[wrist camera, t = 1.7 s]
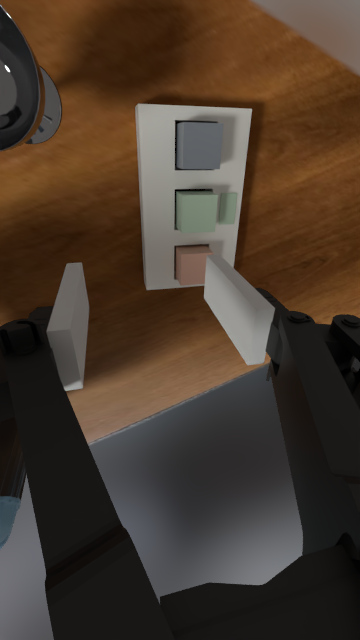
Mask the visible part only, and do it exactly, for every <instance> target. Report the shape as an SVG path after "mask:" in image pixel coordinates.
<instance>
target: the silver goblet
mask: <svg viewBox="0 0 360 640" xmlns="http://www.w3.org/2000/svg"><path fill="white" fill-rule="evenodd" d="M61 115H62V107H61V101H60V97H59V94H58V91H57V89H56V87H55V84H54V83H53V81H52V80H51V78H50V77H49V75H48V74H47V73H46V72H45V71H44V70H43V69H42V68H41V67H40V66H39V63H38V61H37V59H36V56H35V54H34V52H33V50H32V48H31V46H30V44H29V43H28V41H27V39H26V38H25V36H24V35H23V33H22V32H21V30H20V28H19V27H18V26H17V24H16V23H15V22H14V20H13V19H12V18H11V17H10V16H9V14H8V13H7V12H6V11H5V9H4V8H3V7H2V6H1V5H0V152H2V151H7V150H11V149H14V148H16V147H18V146H21V145H22V144H24V143H26V144H38V143H42V142H44V141H47V140H48V139H50V138H51V137H52V136H53V135H54V134H55V133H56V131H57V129H58V127H59V124H60V121H61Z"/></svg>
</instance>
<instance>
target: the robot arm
mask: <svg viewBox="0 0 360 640" xmlns="http://www.w3.org/2000/svg"><path fill="white" fill-rule="evenodd" d="M204 299H205V300H206V302H207V303H208V305H209V307H210V308H211V310H212V311H213V313H214V314H215V316H216V317H217V319H218V320H219V322H220V323H221V325H222V327H223V328H224V330H225V331H226V333H227V334H228V336H229V337H230V339H231V340H232V342H233V344H234V345H235V347H236V348H237V350H238V351H239V353H240V354H241V356H242V357H243V359H244V361H245V362H246V364H247V365H253V364H260V363H264V359H265V354H266V352H267V353H268V355H269V356H270V357H271V360H270V365H269V369H268V373H267V379H266V380H267V381H269V378H270V377H271V378H272V383H273V388H274V393H275V397H276V402H277V407H278V412H279V416H280V422H281V427H282V432H283V436H284V441H285V446H286V451H287V456H288V461H289V465H290V470H291V475H292V480H293V485H294V490H295V495H296V500H297V505H298V510H299V515H300V519H301V525H302V530H303V552H302V556H301V557H299V558H298V559H297V560H296V561H294V562H293V563H292V564H290V565H289V566H288V567H287V568H285V569H284V570H283V571H281V572H280V573H279V574H277V575H276V576H275V577H273V578H272V579H271V580H270V581H268V582H267V583H266V584H263V585H241V584H225V583H206V584H203V585H199V586H196V587H192V588H189V589H185V590H182V591H178V592H175V593H171V594H168V595H165V596H161V597H160V604H159V602H158V599H157V597H156V595H155V592H154V590H153V588H152V586H151V583H150V581H149V578H148V576H147V574H146V571H145V569H144V567H143V564H142V562H141V560H140V557H139V556H138V553H137V551H136V548H135V546H134V544H133V542H132V539H131V537H130V535H129V533H128V532H127V530H126V529H125V528H124V527H123V526H122V524H121V522H120V520H119V518H118V515H117V513H116V510H115V508H114V506H113V503H112V501H111V499H110V496H109V494H108V492H107V489H106V487H105V484H104V482H103V480H102V477H101V475H100V472H99V470H98V468H97V465H96V463H95V461H94V458H93V456H92V453H91V451H90V449H89V446H88V444H87V442H86V439H85V437H84V434H83V432H82V430H81V427H80V425H79V422H78V420H77V418H76V415H75V413H74V411H73V408H72V406H71V403H70V401H69V399H68V396H67V394H66V392H65V391H68V390H75V389H82V388H83V381H84V368H85V356H86V344H87V331H88V319H89V302H88V296H87V290H86V284H85V278H84V272H83V266H82V263H67V264H66V268H65V271H64V274H63V278H62V281H61V284H60V288H59V291H58V294H57V298H56V301H55V304H54V306H48V307H38V308H36V309H35V310H34V311H33V312H32V313H30V315H29V318H28V319H20V320H14V321H11V322H8V323H6V324H4V325H2V326H1V327H0V549H1V548H2V547H3V546H4V544H5V543H6V541H7V539H8V538H9V536H10V533H11V530H12V527H13V523H14V520H15V516H16V513H17V511H18V509H19V508H20V503H21V502H20V501H21V497H22V492H23V487H24V482H25V478H26V473H27V478H28V483H29V488H30V493H31V498H32V503H33V508H34V513H35V518H36V523H37V527H38V533H39V538H40V542H41V548H42V553H43V558H44V562H45V568H46V580H45V591H46V598H47V604H48V610H49V615H50V621H51V626H52V631H53V636H54V640H360V369H359V371H356V370H355V369H354V368H353V366H354V364H355V361H356V359H358V360H359V362H360V318H358V317H356V316H353V315H348V314H347V315H342V314H341V315H336V316H335V317H333V320H332V323H331V325H327V324H315V322H314V320H313V319H312V318H311V317H310V316H308V315H307V314H304V313H301V312H296V311H289V310H288V309H286V308H285V307H284V306H283V305H282V304H281V303H280V302H279V301H278V300H277V299H275V298H273V296H272V295H271V294H270V293H269V292H268V291H265V290H263V289H261V288H254V287H253V286H252V285H250V284H249V283H248V282H247V281H246V280H245V279H244V278H243V277H242V276H241V275H240V274H239V273H238V272H237V271H236V270H235V269H234V268H233V267H232V266H231V265H230V264H229V263H228V262H227V261H226V260H225V259H224V258H222V257H221V256H220V255H219V254H216V255H207V256H206V272H205V287H204Z"/></svg>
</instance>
